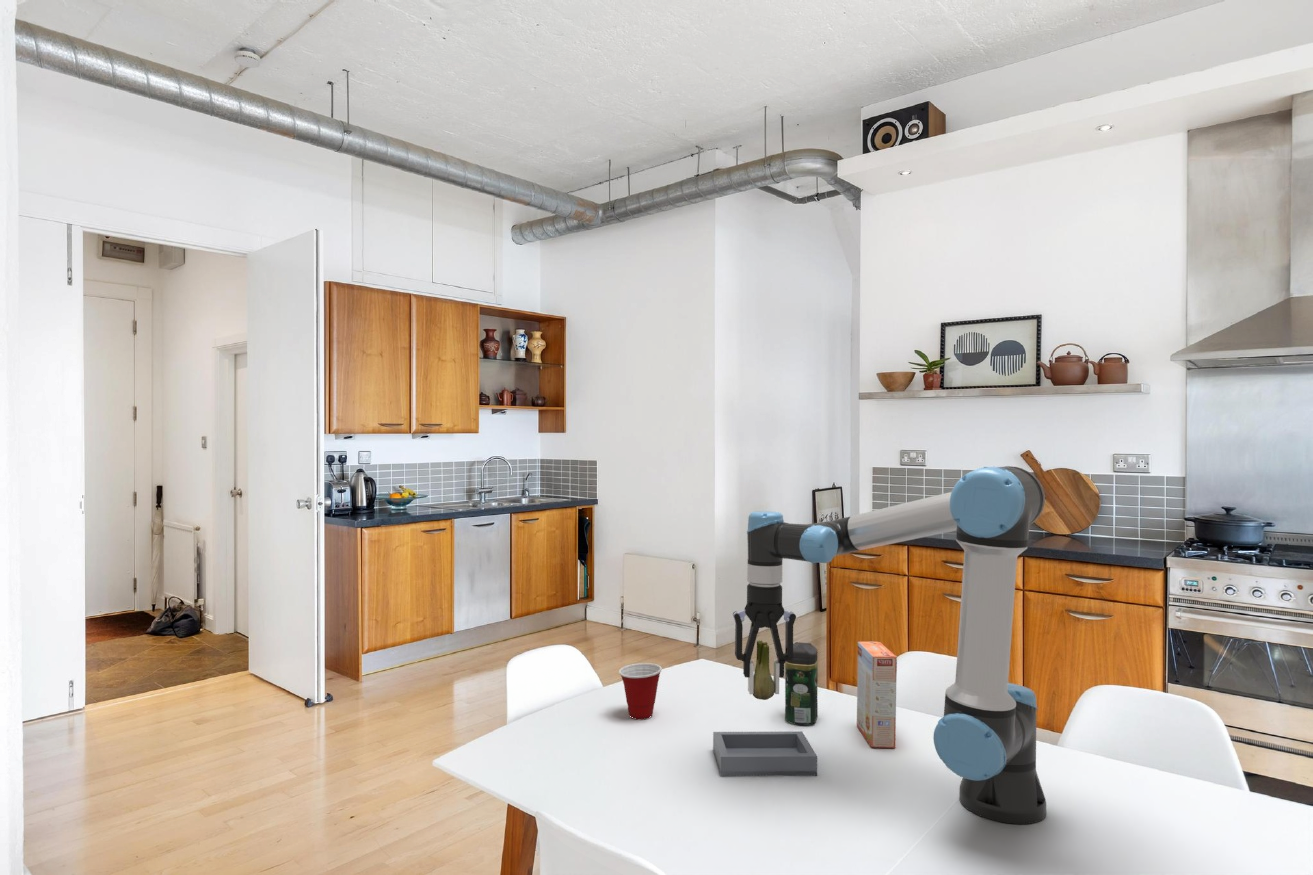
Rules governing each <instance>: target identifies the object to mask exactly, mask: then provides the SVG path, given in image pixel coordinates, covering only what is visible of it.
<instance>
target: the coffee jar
mask: <svg viewBox="0 0 1313 875" xmlns="http://www.w3.org/2000/svg"><path fill="white" fill-rule="evenodd" d="M818 653H819V652H818V649H817V648H816V646H815V645H813V644H812V643H810V642H800V641H799V642H798V641H797V642H796V641H795V642H793V659H792V660H787V661H785V663H784V680H785V681H784V685H785V686H784V690H785V691H784V692H785V693H784V695H785V696H784V701H785V702H784V703H785V704H784V716H785V717H784V718H785V720H786V721H787V723H792V724H794V725H797V726H798V725H799V726H805V725H806V726H807V725H814V724H815V723H816V721H817V720H818V713H819V710H818V709H819V708H818V707H819V706H818V681H819V680H818V658H819V657H818Z"/></svg>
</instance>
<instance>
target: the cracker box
mask: <svg viewBox="0 0 1313 875" xmlns="http://www.w3.org/2000/svg"><path fill="white" fill-rule="evenodd" d="M897 664H898V656H897V655H895V654H894V653H893V652H892V651H891V650H890V649H889V648H887V646H885V645H884V644H883V643H882V642H881V641H873V640H871V641H857V690H856V691H857V692H856V693H857V697H856V698H857V700H856V727H857V728H858V730H859V732H860V733H861V734H862V736H863V738H864V739H865V740H866V742H867V743H868V745H869V746H870V747H871V748H876V749H877V748H878V749H879V748H880V749H881V748H883V749H895V748H896V741H897V740H896V739H897V738H896V737H897V736H896V734H897V726H896V725H897V724H896V723H897V674H898V672H897V671H898V667H897V666H898V665H897Z"/></svg>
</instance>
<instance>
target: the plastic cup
mask: <svg viewBox="0 0 1313 875" xmlns="http://www.w3.org/2000/svg"><path fill="white" fill-rule="evenodd" d="M662 670H663V668H662V666H661V665H659V664H656V663H653V662H652V663H650V662H640V663H632V664H627V665H624V666H622V667H621V668H619V670H618V674H619V676H620V677H621V679H622V682H623V683H622V684H623V686H624V693H625V698H626V704H627V710H628V714H629V715H630V716H631V717H633V718H636V719H635V720H638V719H644V718H649V717H650V716H653V714H654V710H655V709H654V707H655V703H656V698H657V692H658V685H659V679H660V674H661V672H662ZM630 716H629V717H630ZM631 717H630V718H631ZM633 718H632V719H633ZM649 719H650V718H649ZM644 720H645V719H644Z"/></svg>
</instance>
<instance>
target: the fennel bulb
mask: <svg viewBox="0 0 1313 875" xmlns="http://www.w3.org/2000/svg"><path fill="white" fill-rule="evenodd" d="M755 663H756V664H755V667H754V688H753V694H752V696H753V697H754V698H755V699H757V700H762V701H768V700H769V699H771V698H772V697H773V696H774V695H775V685H774V682H773V677H772V674H771V671H770V646H769V643H768V642H764V641H763V640H761V639H760V640H756V662H755Z"/></svg>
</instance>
